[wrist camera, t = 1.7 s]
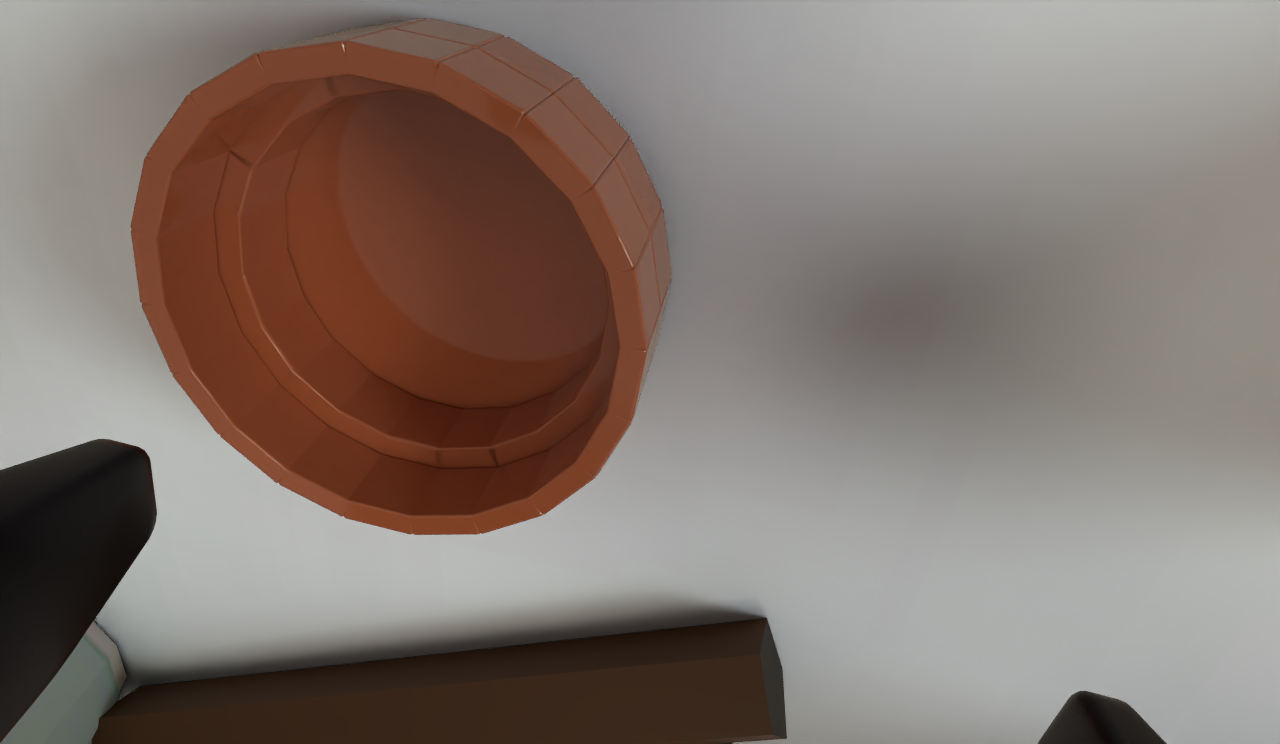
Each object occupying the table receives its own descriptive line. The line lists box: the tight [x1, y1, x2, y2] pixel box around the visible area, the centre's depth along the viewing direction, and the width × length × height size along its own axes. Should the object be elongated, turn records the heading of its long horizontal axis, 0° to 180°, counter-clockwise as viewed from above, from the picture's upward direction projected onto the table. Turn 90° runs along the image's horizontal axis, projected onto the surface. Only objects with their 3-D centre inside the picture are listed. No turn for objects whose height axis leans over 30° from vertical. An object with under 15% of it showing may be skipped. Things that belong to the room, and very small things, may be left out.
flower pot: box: [131, 18, 671, 535], centre depth 20 cm, size 11×11×5 cm
